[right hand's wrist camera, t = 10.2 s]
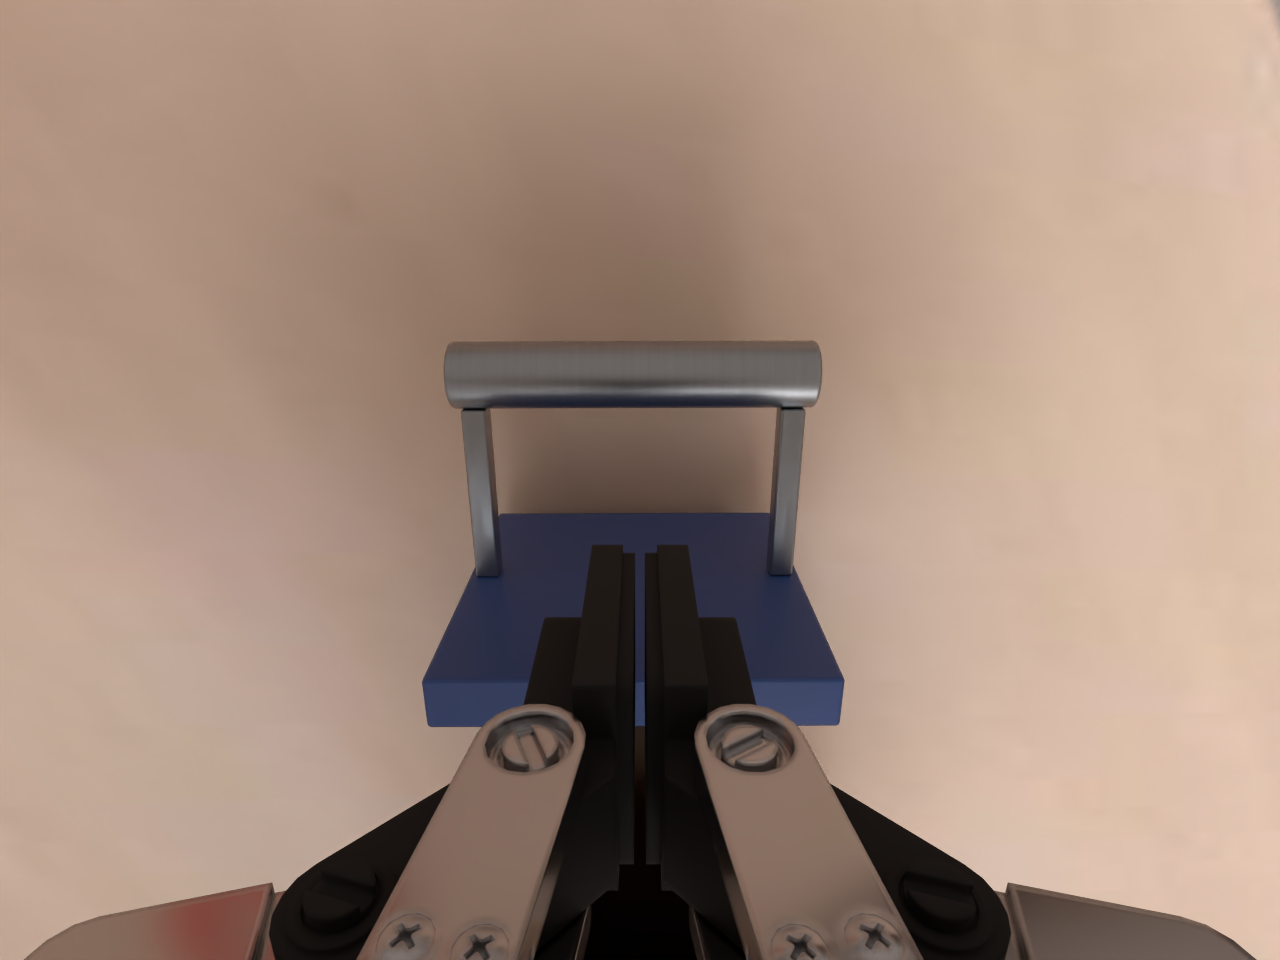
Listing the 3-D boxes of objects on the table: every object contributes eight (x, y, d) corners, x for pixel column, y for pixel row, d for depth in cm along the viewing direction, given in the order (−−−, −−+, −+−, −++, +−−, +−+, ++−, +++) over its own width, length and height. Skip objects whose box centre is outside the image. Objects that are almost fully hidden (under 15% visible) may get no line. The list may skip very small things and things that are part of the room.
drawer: (484, 319, 20) (380, 387, 12) (783, 318, 20) (882, 385, 12) (533, 944, 29) (492, 1225, 21) (741, 943, 29) (781, 1224, 21)
